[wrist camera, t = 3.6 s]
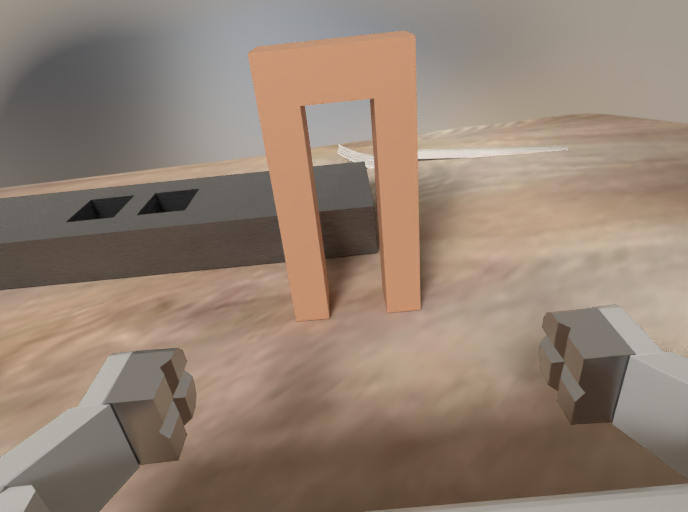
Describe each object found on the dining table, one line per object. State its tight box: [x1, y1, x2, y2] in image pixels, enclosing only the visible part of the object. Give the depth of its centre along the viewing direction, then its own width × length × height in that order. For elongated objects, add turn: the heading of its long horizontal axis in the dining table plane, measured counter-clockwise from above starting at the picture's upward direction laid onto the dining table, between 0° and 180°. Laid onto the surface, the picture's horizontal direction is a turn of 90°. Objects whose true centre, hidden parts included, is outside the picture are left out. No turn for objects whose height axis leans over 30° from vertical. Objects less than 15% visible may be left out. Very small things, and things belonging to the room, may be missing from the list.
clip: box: [248, 31, 421, 322], centre depth 21 cm, size 2×6×12 cm, turn 92°
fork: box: [337, 144, 569, 169], centre depth 41 cm, size 3×20×2 cm, turn 86°
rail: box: [0, 161, 377, 290], centre depth 31 cm, size 8×30×3 cm, turn 92°
